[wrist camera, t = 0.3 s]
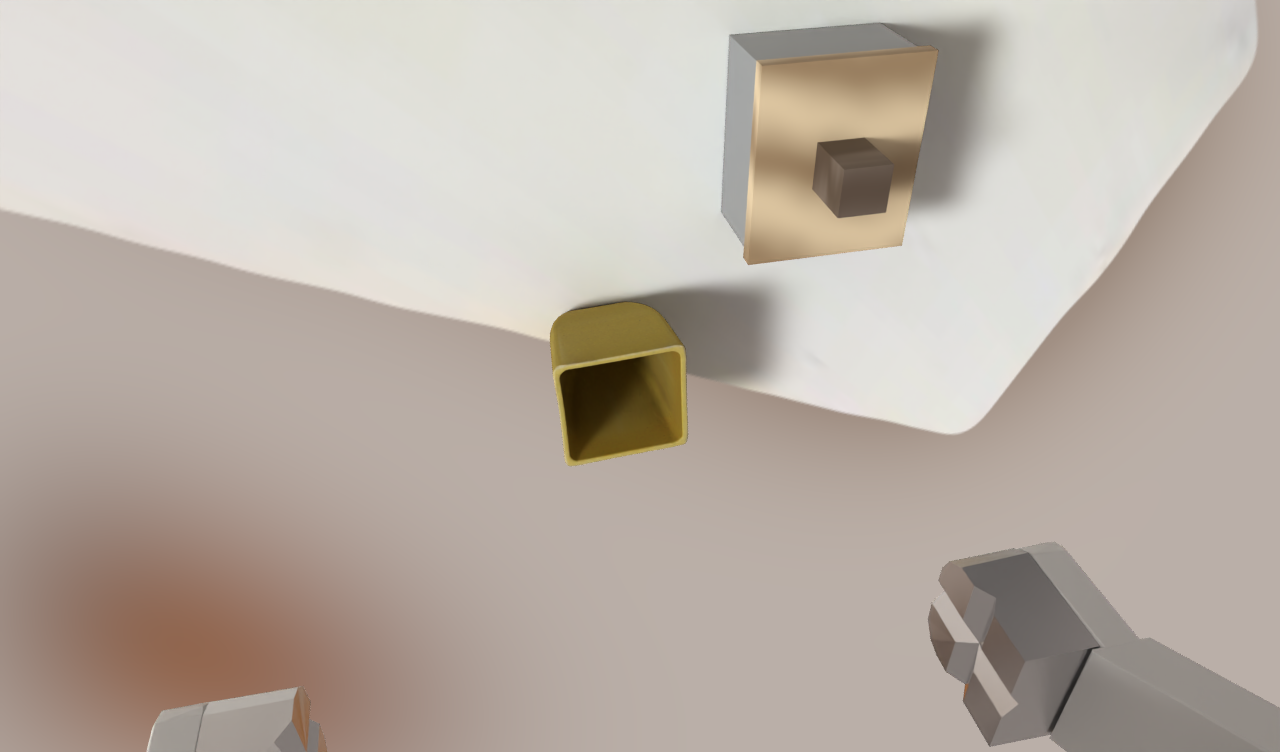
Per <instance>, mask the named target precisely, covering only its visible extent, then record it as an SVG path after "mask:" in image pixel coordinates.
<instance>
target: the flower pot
mask: <svg viewBox="0 0 1280 752" xmlns="http://www.w3.org/2000/svg"><path fill="white" fill-rule="evenodd" d="M550 347H551V358H552V370H553V378H554V384H555V390H556V395H557V401H558V406H559V414H560V421H561V429H562V438H563V446H564V457H565V462H566V464H567V465H568V466H577V465H583V464H587V463H592V462H597V461H602V460H607V459H611V458H617V457H622V456H627V455H632V454H638V453H643V452H647V451H653V450H659V449H664V448H669V447H674V446H678V445H682V444H685V443H686V442H687V439H688V419H687V384H686V383H687V379H686V349H685V347H684V345H683V344H682V342H681V341H680V340H679V338H678V337H677V335H676V334H675V332H674V331H673V330H672V328H671V327H670V326H669V324H668V323H667V321H666V320H665V319H664V318H663V316H662V315H661V314H660V313H659V312H657V311H656V310H655V309H653V308H651V307H649V306H647V305H644V304H640V303H634V302H621V303H616V304H610V305H604V306H598V307H592V308H586V309H580V310H573V311H568V312H566V313H564V314H562V315H561V316H559V317H558V318H557V319H556V321H555V322H554V323H553V325H552V328H551V332H550Z"/></svg>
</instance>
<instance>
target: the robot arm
mask: <svg viewBox="0 0 1280 752" xmlns="http://www.w3.org/2000/svg"><path fill="white" fill-rule="evenodd" d="M939 582H940V584H941V586H942V587H943V589H944V591H943V592H942V593H941V594H940V595H939V596H938V597H937V598H936V599H935V600H934V601H933V602H932V604H931V609H930V613H929V617H928V623H929V631H930V639H931V642H932V644H933V647H934V649H935V652H936V655H937V657H938V658H939V660H940V662H941V664H942V666H943V667H944V669H945V671H946V672H947V673H949V674H950V675H952V676H953V677H955V678H957V679H958V680H959V681H961V682H963V683H964V684H965V689H964V697H963V702H964V704H965V706H966V707H967V709H968V711H969V712H970V714H971V716H972V717H973V719H974V721H975V723H976V724H977V726H978V728H979V730H980V731H981V733H982V735H983V736H984V738H985V740H986V742H987V743H988V745H989V746H990V747H991V746H996V745H1001V744H1005V743H1011V742H1016V741H1021V740H1026V739H1031V738H1036V737H1040V736H1046V735H1051V736H1050V739H1051V740H1052V741H1054V742H1055V743H1056V744H1058V745H1059V746H1060V747H1061V748H1063V749H1064V750H1065V751H1067V752H1280V708H1279V707H1277V706H1275V705H1274V704H1272V703H1270V702H1268V701H1266V700H1264V699H1262V698H1261V697H1259V696H1257V695H1255V694H1253V693H1251V692H1249V691H1247V690H1246V689H1244V688H1242V687H1240V686H1238V685H1236V684H1235V683H1233V682H1231V681H1229V680H1227V679H1225V678H1224V677H1222V676H1220V675H1218V674H1216V673H1214V672H1213V671H1211V670H1209V669H1207V668H1205V667H1203V666H1201V665H1200V664H1198V663H1196V662H1194V661H1192V660H1190V659H1189V658H1187V657H1185V656H1183V655H1181V654H1179V653H1177V652H1176V651H1174V650H1172V649H1170V648H1168V647H1166V646H1165V645H1162V644H1161V643H1159V642H1157V641H1155V640H1153V639H1151V638H1144V639H1139V638H1138V637H1137V636H1136V634H1135V633H1134V632H1133V631H1132V629H1131V628H1130V627H1129V626H1128V625H1127V624H1126V622H1125V621H1124V620H1123V619H1122V617H1121V616H1120V615H1119V614H1118V612H1117V611H1116V610H1115V609H1114V608H1113V606H1112V605H1111V604H1110V603H1109V601H1108V600H1107V599H1106V598H1105V597H1104V595H1103V594H1102V593H1101V592H1100V590H1098V588H1097V587H1096V586H1095V584H1094V583H1093V582H1092V581H1091V579H1090V578H1089V577H1088V576H1087V575H1086V573H1085V572H1084V571H1083V570H1082V569H1081V567H1080V566H1079V565H1078V564H1077V562H1075V560H1074V559H1073V558H1072V556H1071V555H1070V554H1069V553H1068V552H1067V550H1066V549H1065V548H1064V547H1062V546H1060V545H1059V544H1057V543H1056V542H1048V543H1042V544H1038V545H1033V546H1028V547H1024V548H1019V549H1015V548H1013V549H1008V550H1002V551H998V552H993V553H988V554H984V555H978V556H974V557H969V558H964V559H959V560H954V561H950V562H948V563H947V564H946V565H945V566H944V567H943V568H942V570H941V574H940V577H939ZM310 705H311V702H310V700H309V698H308V695H307V693H306V691H305V689H304V687H303V686H301V687H296V688H289V689H283V690H278V691H272V692H266V693H260V694H255V695H249V696H243V697H237V698H232V699H225V700H220V701H214V702H207V703H201V704H196V705H190V706H186V707H180V708H174V709H169V710H164V711H162V712H161V714H160V715H159V717H158V719H157V720H156V722H155V724H154V726H153V728H152V732H151V736H150V740H149V744H148V748H147V752H328V751H327V746H326V742H325V737H324V734H323V732H322V729H321V726H320V724H319V723H316V722H314V721H312V720H310V719H309V718H310V717H309V716H310Z"/></svg>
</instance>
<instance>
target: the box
mask: <svg viewBox="0 0 1280 752" xmlns="http://www.w3.org/2000/svg"><path fill="white" fill-rule="evenodd" d="M905 47H917V46H916V45H914V44H913V43H911V42H910V41H908V40H906V39H905V38H903V37H902V36H900V35H899V34H897V33H896V32H894V31H892V30H891V29H889V28H888V27H886V26H885V25H883V24H881V23H871V24H859V25H847V26H834V27H822V28H809V29H797V30H785V31H772V32H760V33H747V34H735V35H729V55H728V77H727V98H726V119H725V141H724V162H723V183H722V205H721V212H722V214H723V215H724V217H725V218H726V220H727V221H728V223H729V225H730V226H731V228H732V229H733V231H734V232H735V234H736V235H737V237H738V238H739V240H740V241H741V243H742V244H743V246H744V239H745V224H746V209H747V194H748V179H749V164H750V148H751V133H752V118H753V103H754V88H755V73H756V60H766V59H778V58H789V57H801V56H813V55H824V54H836V53H847V52H859V51H871V50H882V49H894V48H905Z"/></svg>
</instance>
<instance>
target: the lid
mask: <svg viewBox="0 0 1280 752" xmlns="http://www.w3.org/2000/svg"><path fill="white" fill-rule="evenodd" d="M938 51H939V50H937V49H935V48H934V47H932V46H931V45H929V46H917V47H905V48H894V49H882V50H871V51H859V52H847V53H836V54H824V55H813V56H801V57H789V58H778V59H766V60H756V73H755V88H754V103H753V118H752V133H751V148H750V164H749V179H748V194H747V209H746V224H745V239H744V254H743V258H744V259H745V261H746V262H747V264H748V265H752V264H760V263H768V262H776V261H784V260H792V259H800V258H807V257H815V256H823V255H831V254H839V253H847V252H855V251H863V250H871V249H879V248H887V247H895V246H902V242H903V237H904V231H905V226H906V221H907V215H908V210H909V205H910V200H911V194H912V189H913V184H914V178H915V173H916V168H917V162H918V157H919V152H920V146H921V141H922V136H923V131H924V125H925V120H926V115H927V109H928V104H929V99H930V93H931V88H932V83H933V77H934V72H935V67H936V62H937V56H938Z"/></svg>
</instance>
